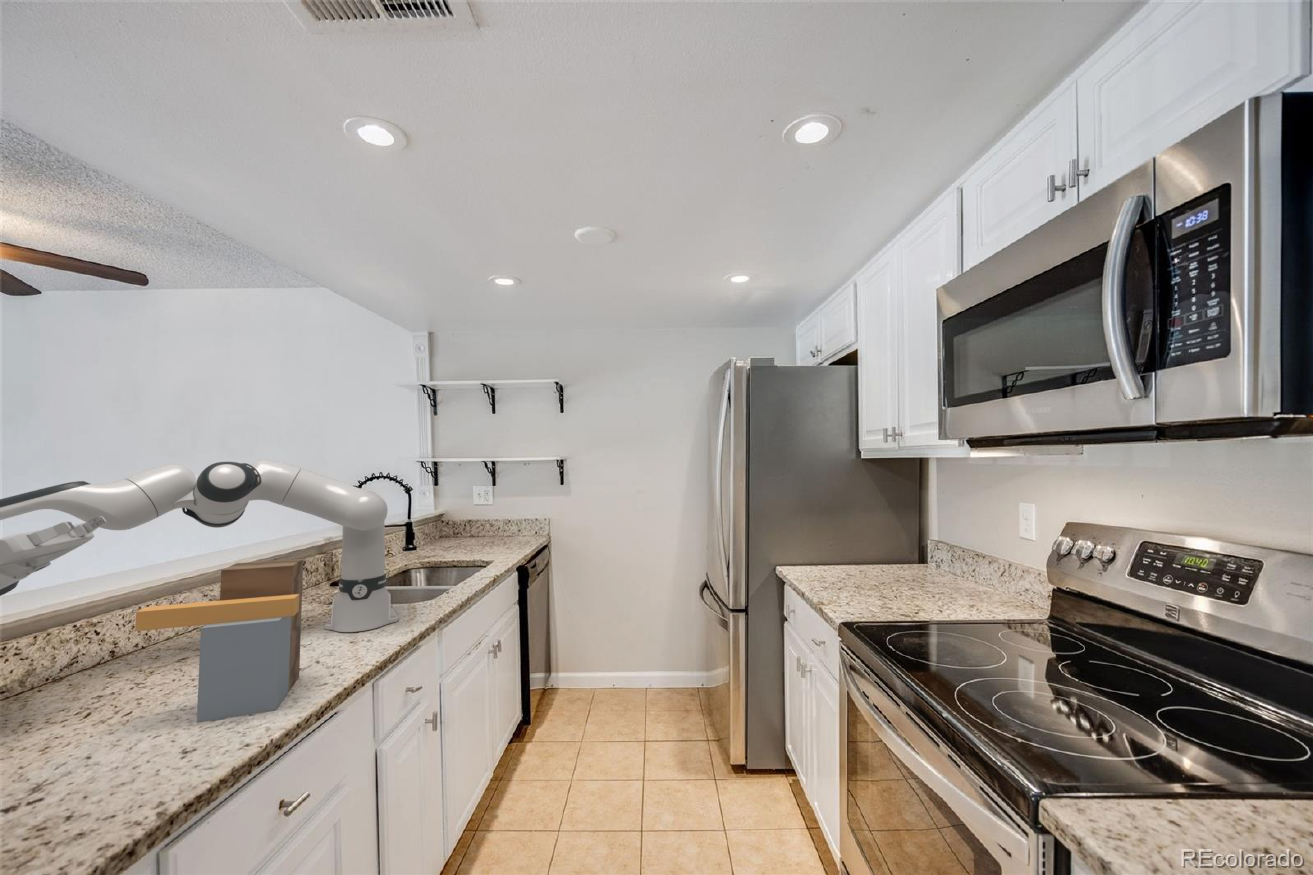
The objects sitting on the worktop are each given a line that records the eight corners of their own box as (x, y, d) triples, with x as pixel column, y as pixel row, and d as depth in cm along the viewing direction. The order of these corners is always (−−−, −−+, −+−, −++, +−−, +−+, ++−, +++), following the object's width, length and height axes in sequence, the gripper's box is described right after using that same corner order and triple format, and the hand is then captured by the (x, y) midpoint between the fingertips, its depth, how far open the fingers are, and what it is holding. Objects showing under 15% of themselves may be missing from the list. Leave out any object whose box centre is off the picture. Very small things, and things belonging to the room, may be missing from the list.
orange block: (146, 625, 94) (146, 606, 94) (298, 611, 103) (299, 594, 104) (135, 631, 91) (136, 611, 91) (293, 616, 100) (294, 598, 100)
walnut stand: (231, 686, 107) (236, 563, 108) (299, 677, 111) (303, 558, 113) (215, 703, 99) (221, 570, 101) (288, 692, 104) (292, 565, 105)
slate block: (215, 703, 99) (219, 616, 100) (288, 692, 104) (291, 609, 105) (196, 722, 92) (200, 628, 93) (276, 710, 97) (279, 620, 97)
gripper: (-70, 559, 81) (35, 513, 86) (27, 541, 100) (109, 504, 105) (-44, 591, 82) (58, 544, 87) (48, 567, 101) (128, 529, 106)
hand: (87, 522), depth 96 cm, fingers open, 8 cm apart
